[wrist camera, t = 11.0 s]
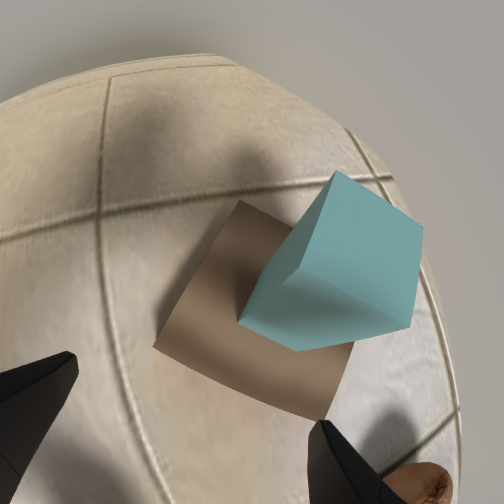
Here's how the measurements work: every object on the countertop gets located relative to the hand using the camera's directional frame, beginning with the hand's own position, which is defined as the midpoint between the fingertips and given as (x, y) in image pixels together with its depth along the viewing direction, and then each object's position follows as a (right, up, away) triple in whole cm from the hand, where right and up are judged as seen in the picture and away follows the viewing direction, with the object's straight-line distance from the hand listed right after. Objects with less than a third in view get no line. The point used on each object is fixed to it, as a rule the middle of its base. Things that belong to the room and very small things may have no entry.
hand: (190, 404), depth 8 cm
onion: (+17, -21, +10) cm, 28 cm away
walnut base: (+4, 0, +15) cm, 16 cm away
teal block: (+4, +1, +13) cm, 13 cm away
